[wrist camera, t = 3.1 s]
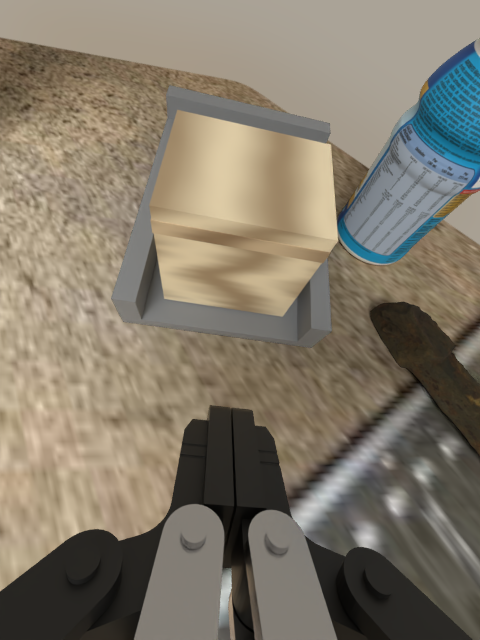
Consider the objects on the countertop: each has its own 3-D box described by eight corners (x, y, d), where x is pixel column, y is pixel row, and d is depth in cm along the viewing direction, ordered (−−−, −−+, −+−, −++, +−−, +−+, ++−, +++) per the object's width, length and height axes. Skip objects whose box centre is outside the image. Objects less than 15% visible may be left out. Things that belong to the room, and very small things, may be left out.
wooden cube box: (163, 299, 23) (148, 205, 14) (180, 223, 27) (176, 108, 18) (283, 317, 24) (338, 241, 15) (284, 242, 28) (331, 144, 19)
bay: (123, 321, 23) (103, 283, 18) (172, 145, 32) (169, 85, 27) (310, 347, 25) (345, 320, 20) (307, 174, 34) (329, 123, 29)
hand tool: (535, 484, 24) (610, 492, 19) (511, 516, 22) (586, 532, 18) (385, 303, 29) (419, 279, 25) (358, 320, 27) (389, 297, 23)
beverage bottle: (331, 259, 29) (559, -36, 11) (332, 200, 33) (506, -94, 15) (407, 276, 30) (732, 26, 12) (400, 217, 34) (643, -44, 16)
